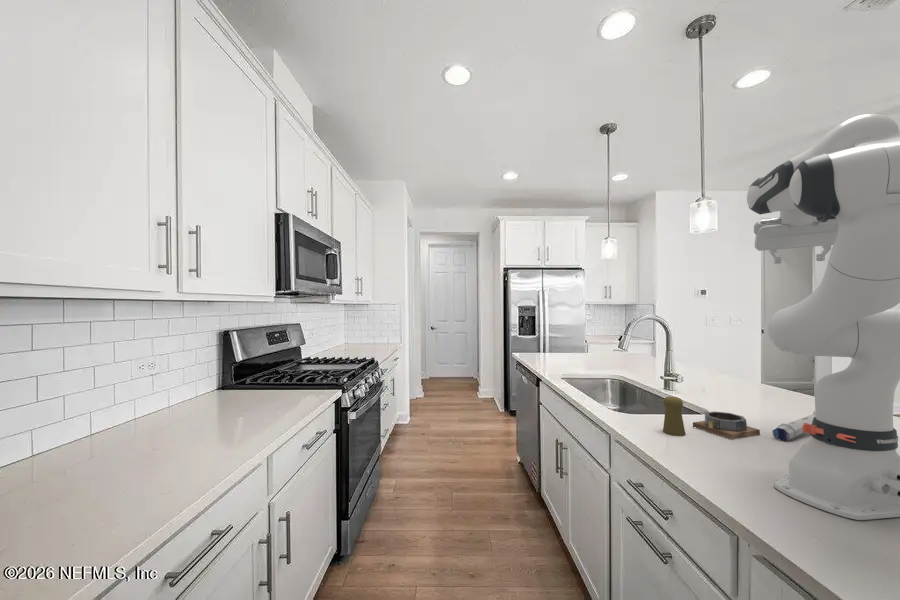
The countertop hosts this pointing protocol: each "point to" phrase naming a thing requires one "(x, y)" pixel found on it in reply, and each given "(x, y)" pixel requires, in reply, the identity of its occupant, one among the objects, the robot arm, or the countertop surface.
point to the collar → (725, 421)
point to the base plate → (727, 434)
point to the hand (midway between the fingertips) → (798, 262)
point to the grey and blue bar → (792, 428)
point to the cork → (673, 417)
